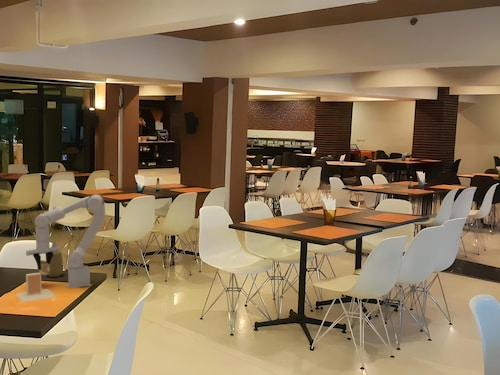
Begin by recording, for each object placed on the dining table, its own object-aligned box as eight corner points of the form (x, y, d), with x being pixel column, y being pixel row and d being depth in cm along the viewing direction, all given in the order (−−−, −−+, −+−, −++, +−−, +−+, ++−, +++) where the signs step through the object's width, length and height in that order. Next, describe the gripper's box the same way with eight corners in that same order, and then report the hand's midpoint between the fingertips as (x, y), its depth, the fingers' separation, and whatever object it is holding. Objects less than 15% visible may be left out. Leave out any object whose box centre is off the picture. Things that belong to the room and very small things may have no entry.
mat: (48, 289, 255) (47, 288, 255) (56, 297, 244) (56, 296, 244) (15, 294, 247) (15, 293, 247) (22, 303, 236) (22, 302, 236)
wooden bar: (44, 269, 264) (43, 259, 264) (49, 274, 256) (49, 264, 256) (37, 270, 263) (37, 260, 262) (42, 274, 254) (42, 265, 254)
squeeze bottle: (66, 274, 282) (65, 239, 280) (59, 278, 274) (58, 242, 272) (51, 273, 283) (50, 238, 281) (43, 277, 275) (42, 241, 273)
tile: (40, 292, 250) (40, 272, 249) (41, 293, 249) (41, 273, 248) (26, 294, 247) (25, 274, 246) (27, 295, 246) (26, 275, 245)
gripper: (56, 237, 265) (57, 265, 266) (24, 240, 257) (25, 269, 258) (60, 239, 259) (61, 268, 261) (27, 242, 251) (28, 272, 253)
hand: (43, 268), depth 259 cm, fingers closed on wooden bar, 3 cm apart
